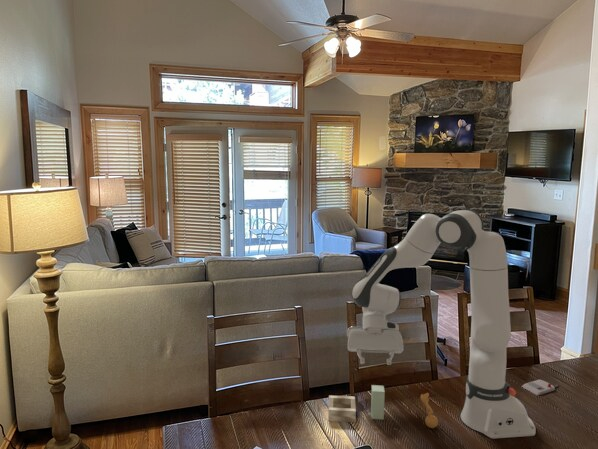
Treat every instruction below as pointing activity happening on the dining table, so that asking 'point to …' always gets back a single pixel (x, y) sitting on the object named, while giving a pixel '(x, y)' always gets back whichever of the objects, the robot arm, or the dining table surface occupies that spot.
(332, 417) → the beige square socket frame
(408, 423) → the dining table surface
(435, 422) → the figurine
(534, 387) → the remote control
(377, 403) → the sage-green peg
